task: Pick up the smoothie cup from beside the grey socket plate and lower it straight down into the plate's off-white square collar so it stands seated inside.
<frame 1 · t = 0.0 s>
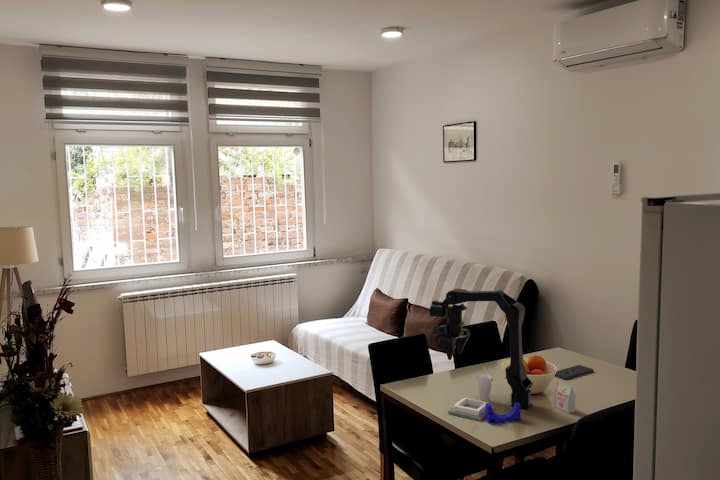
hand: (454, 357, 244), 15 cm above the table, tool pointing down, fingers open, 9 cm apart
cable clip: (503, 421, 216), on the table
smoothie: (484, 401, 235), on the table
socket plate: (471, 411, 224), on the table
milk carton: (564, 410, 226), on the table
smart home device: (572, 374, 267), on the table
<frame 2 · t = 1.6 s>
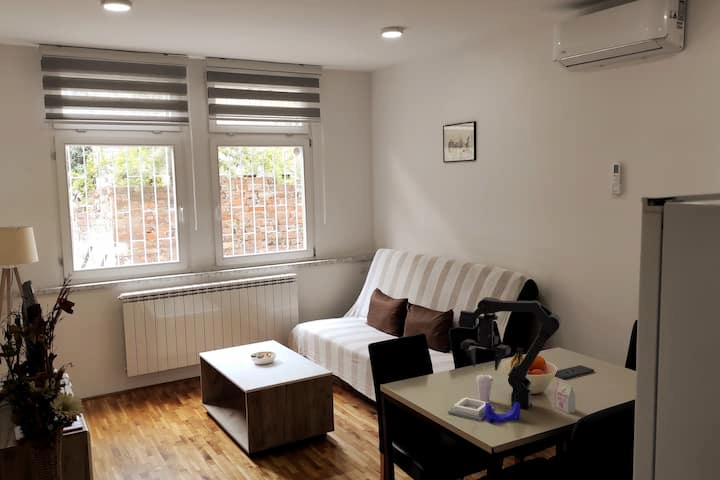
hand: (485, 368, 234), 13 cm above the table, tool pointing down, fingers open, 9 cm apart
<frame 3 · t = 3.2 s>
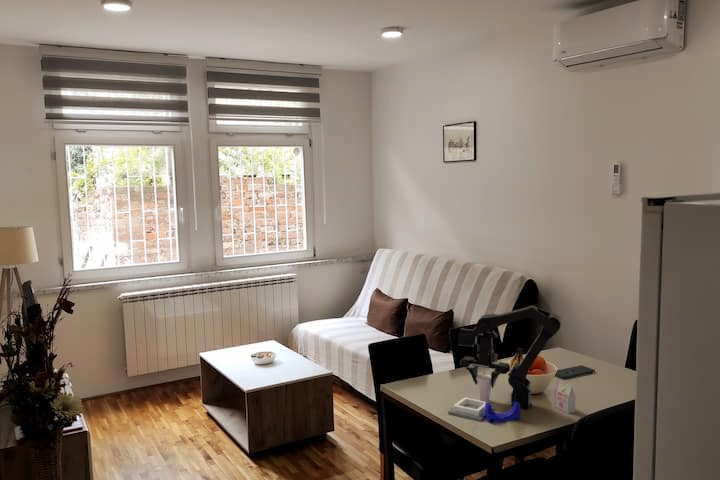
hand: (484, 386, 234), 6 cm above the table, tool pointing down, fingers closed on smoothie, 6 cm apart
smoothie: (484, 401, 235), on the table, touching gripper
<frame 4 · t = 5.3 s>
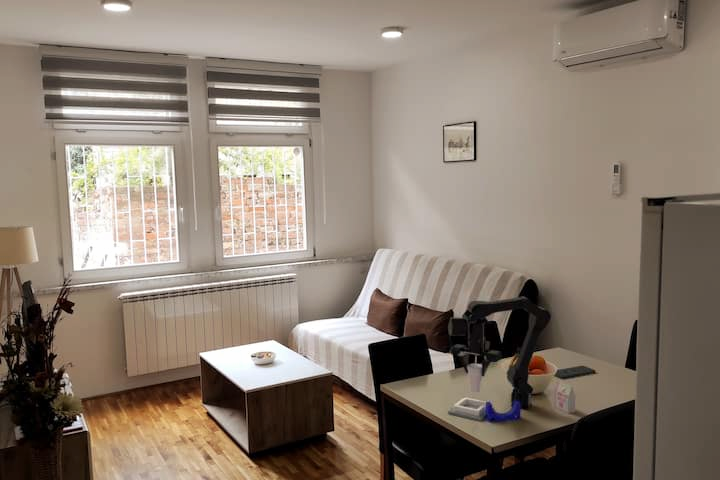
hand: (475, 374, 226), 13 cm above the table, tool pointing down, fingers closed on smoothie, 6 cm apart
smoothie: (474, 391, 227), point 7 cm above the table, touching gripper
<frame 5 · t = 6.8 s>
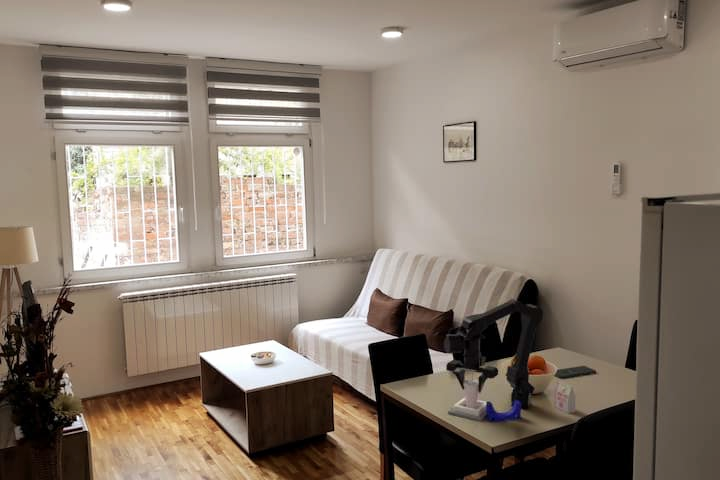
hand: (471, 391, 223), 8 cm above the table, tool pointing down, fingers closed on smoothie, 6 cm apart
smoothie: (471, 407, 224), point 2 cm above the table, touching gripper
when the fingers open (8 cm above the table, at t = 7.7 s): smoothie stays where it is, resting on socket plate.
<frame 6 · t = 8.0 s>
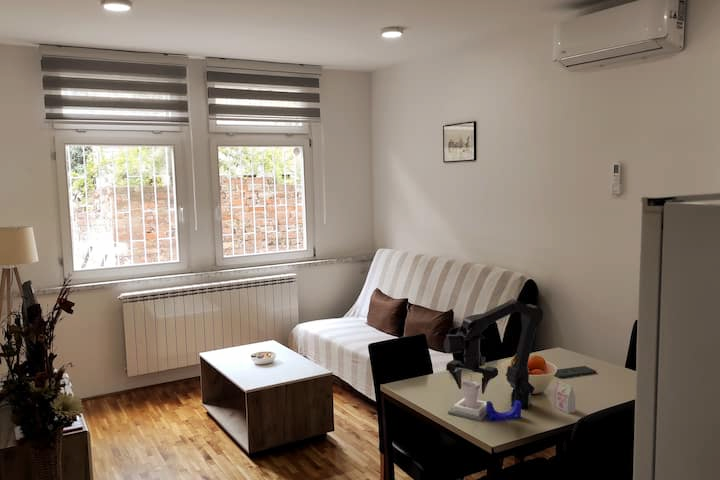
hand: (471, 391, 223), 8 cm above the table, tool pointing down, fingers open, 9 cm apart
smoothie: (470, 409, 224), point 1 cm above the table, touching socket plate
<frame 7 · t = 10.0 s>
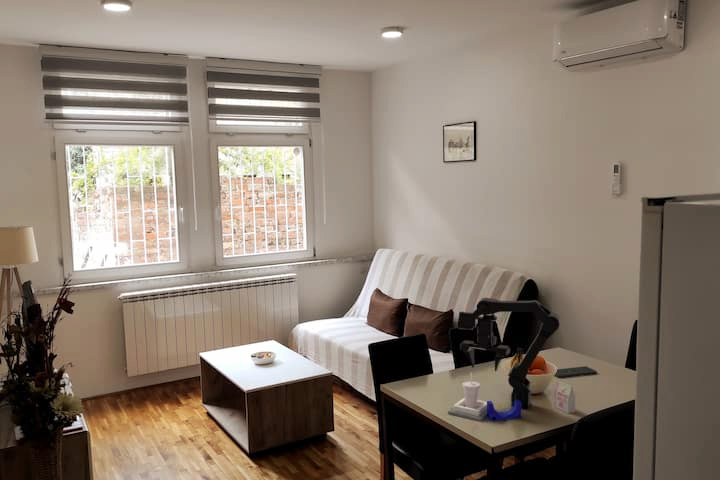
hand: (484, 369, 233), 13 cm above the table, tool pointing down, fingers open, 9 cm apart
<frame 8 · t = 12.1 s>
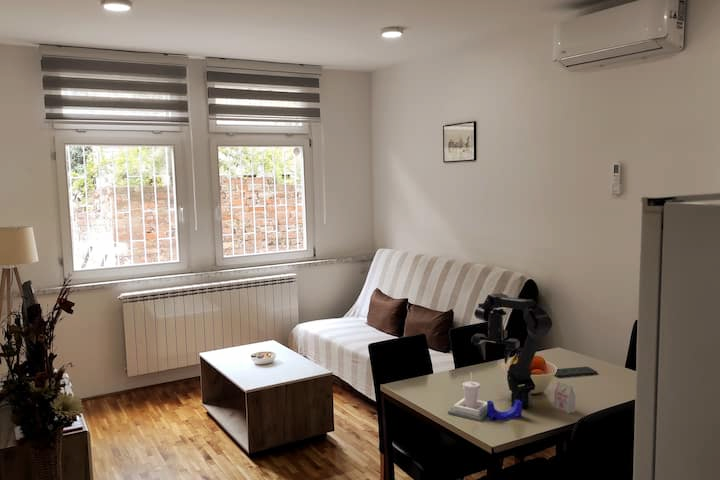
hand: (494, 361, 243), 13 cm above the table, tool pointing down, fingers open, 9 cm apart
at the end: smoothie 0.2 cm off-centre on the socket plate, point 0.8 cm above the socket plate's base; smoothie tilted 0°; the gripper is holding nothing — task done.
